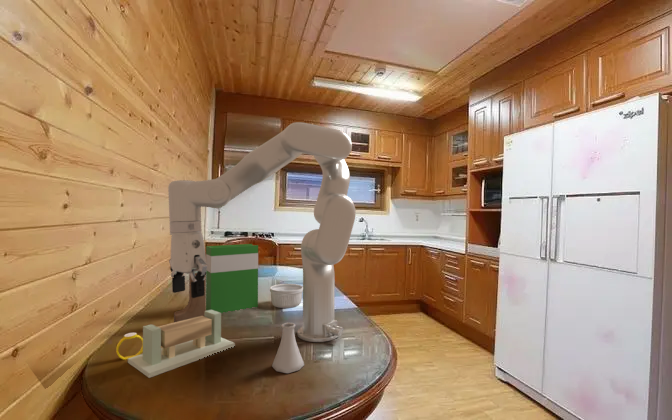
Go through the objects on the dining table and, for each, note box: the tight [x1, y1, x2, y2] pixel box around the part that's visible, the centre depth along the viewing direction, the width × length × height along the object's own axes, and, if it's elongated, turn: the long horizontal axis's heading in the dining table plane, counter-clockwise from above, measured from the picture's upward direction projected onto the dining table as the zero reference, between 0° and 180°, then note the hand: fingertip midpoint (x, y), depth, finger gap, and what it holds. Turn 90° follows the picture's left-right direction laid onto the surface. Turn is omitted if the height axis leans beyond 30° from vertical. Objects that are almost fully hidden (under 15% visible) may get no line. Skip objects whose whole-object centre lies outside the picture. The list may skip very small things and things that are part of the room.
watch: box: [115, 332, 143, 361], centre depth 83 cm, size 6×3×6 cm, turn 128°
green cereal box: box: [205, 243, 259, 314], centre depth 127 cm, size 18×7×24 cm, turn 124°
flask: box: [271, 322, 305, 374], centre depth 79 cm, size 7×7×10 cm
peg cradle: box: [127, 310, 236, 379], centre depth 85 cm, size 12×22×9 cm, turn 142°
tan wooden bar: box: [157, 316, 212, 348], centre depth 85 cm, size 5×12×4 cm, turn 139°
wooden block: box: [173, 273, 207, 323], centre depth 107 cm, size 9×4×18 cm, turn 122°
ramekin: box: [269, 283, 303, 309], centre depth 133 cm, size 13×13×7 cm
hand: (188, 294), depth 86 cm, fingers open, 9 cm apart
